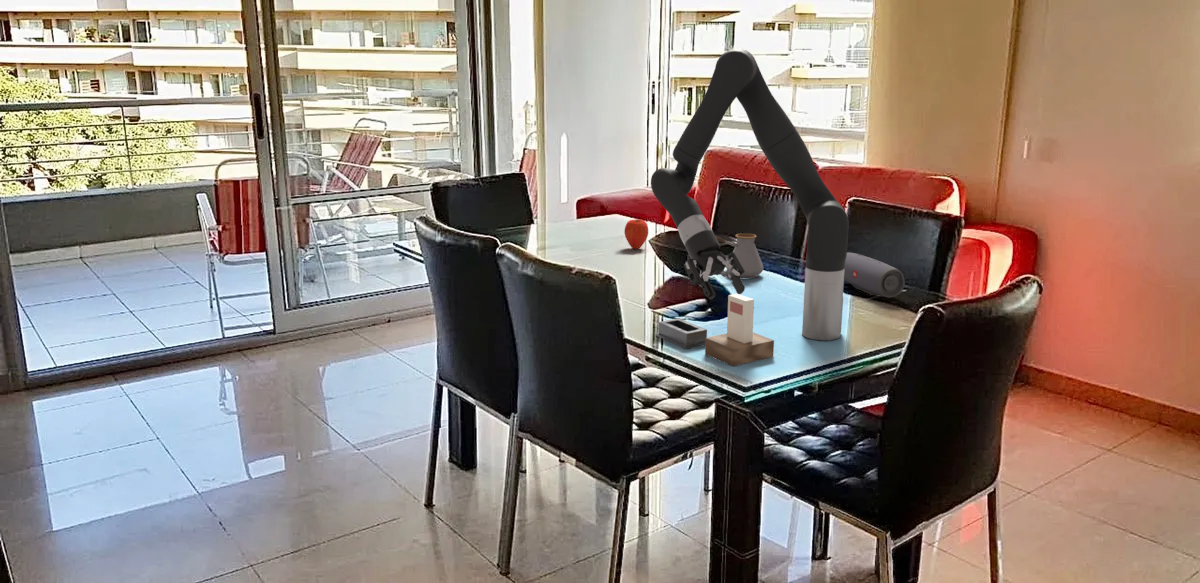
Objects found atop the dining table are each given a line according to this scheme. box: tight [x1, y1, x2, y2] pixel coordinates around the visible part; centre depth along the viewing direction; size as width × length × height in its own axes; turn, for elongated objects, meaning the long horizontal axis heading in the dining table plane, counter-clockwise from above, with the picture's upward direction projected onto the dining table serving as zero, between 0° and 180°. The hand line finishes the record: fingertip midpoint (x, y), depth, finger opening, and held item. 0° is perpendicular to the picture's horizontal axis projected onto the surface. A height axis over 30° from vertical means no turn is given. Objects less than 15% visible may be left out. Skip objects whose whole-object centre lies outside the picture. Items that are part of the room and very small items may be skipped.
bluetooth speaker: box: [844, 252, 906, 298], centre depth 267 cm, size 23×9×10 cm, turn 18°
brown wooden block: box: [704, 331, 775, 367], centre depth 214 cm, size 12×10×4 cm
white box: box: [726, 293, 755, 343], centre depth 212 cm, size 3×6×10 cm, turn 31°
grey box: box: [655, 317, 708, 350], centre depth 226 cm, size 7×12×4 cm, turn 32°
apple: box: [624, 218, 649, 250], centre depth 325 cm, size 9×8×11 cm
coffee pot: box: [715, 233, 764, 279], centre depth 284 cm, size 21×12×15 cm, turn 108°
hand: (727, 294), depth 215 cm, fingers open, 8 cm apart
